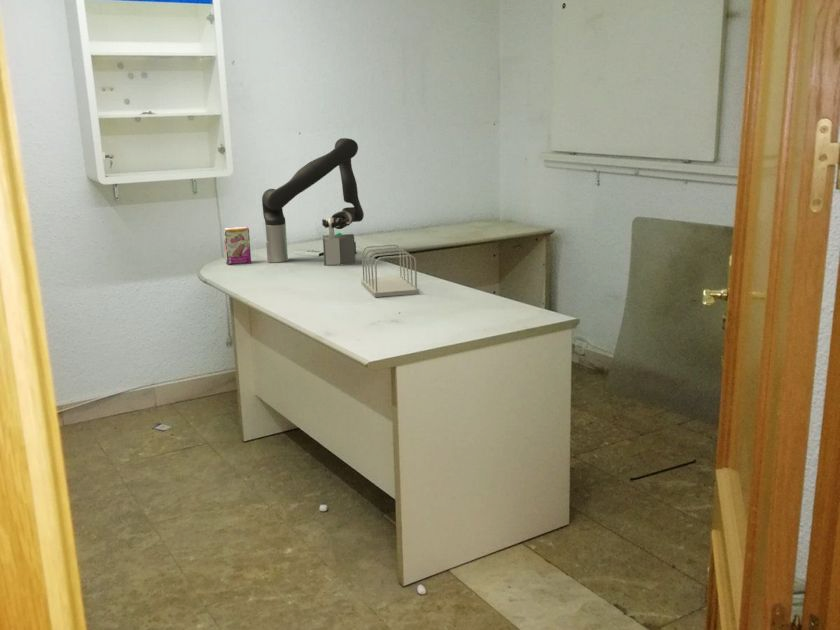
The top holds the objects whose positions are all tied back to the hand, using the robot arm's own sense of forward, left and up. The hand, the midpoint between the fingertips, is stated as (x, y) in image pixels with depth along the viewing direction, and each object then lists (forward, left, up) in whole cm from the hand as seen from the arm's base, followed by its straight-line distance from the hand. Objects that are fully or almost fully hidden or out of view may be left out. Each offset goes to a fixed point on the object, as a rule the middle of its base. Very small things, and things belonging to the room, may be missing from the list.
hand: (329, 225), depth 362 cm
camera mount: (+5, +29, -19) cm, 35 cm away
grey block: (+4, +8, -19) cm, 21 cm away
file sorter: (+22, -49, -19) cm, 57 cm away
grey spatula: (+1, +3, -18) cm, 18 cm away
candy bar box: (-42, +18, -19) cm, 50 cm away
